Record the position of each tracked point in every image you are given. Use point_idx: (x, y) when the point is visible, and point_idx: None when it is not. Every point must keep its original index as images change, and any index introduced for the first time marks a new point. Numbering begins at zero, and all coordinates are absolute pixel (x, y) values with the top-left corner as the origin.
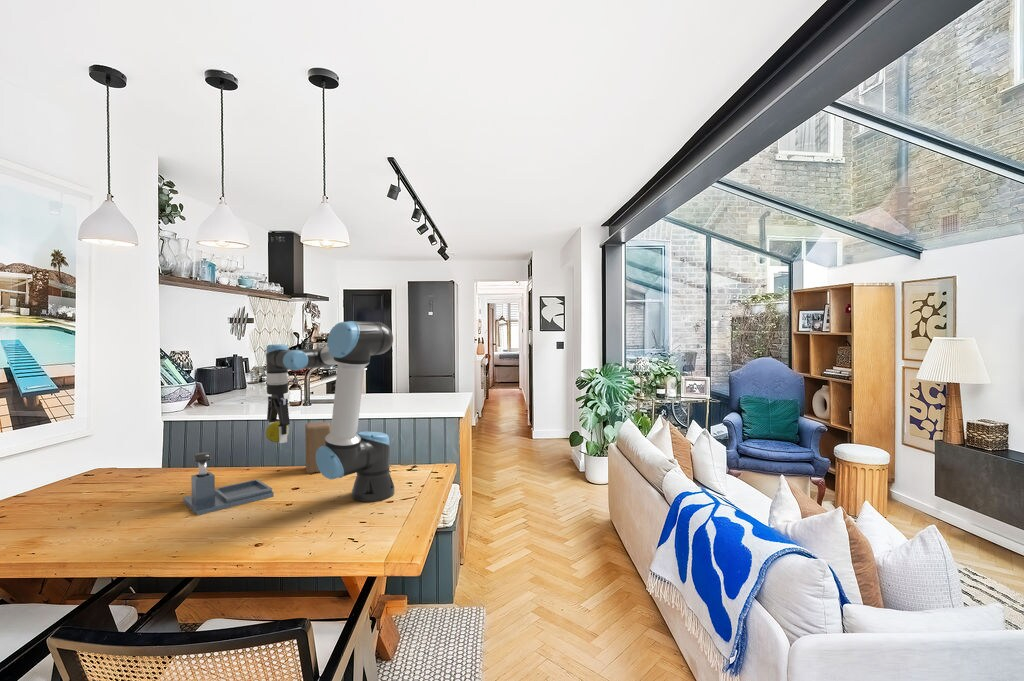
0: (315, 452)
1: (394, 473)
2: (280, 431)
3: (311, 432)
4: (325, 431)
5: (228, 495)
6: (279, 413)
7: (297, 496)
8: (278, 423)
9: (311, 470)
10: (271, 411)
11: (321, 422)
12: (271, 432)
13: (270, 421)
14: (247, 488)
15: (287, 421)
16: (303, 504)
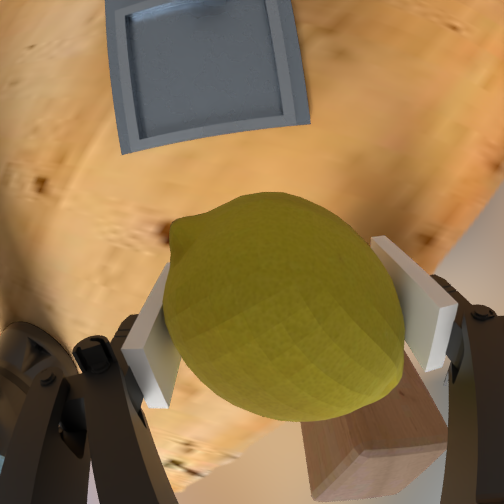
0: None
1: (164, 442)
2: (140, 320)
3: (342, 441)
4: (314, 473)
5: (189, 17)
6: (103, 501)
7: (89, 219)
8: (228, 377)
9: None
10: (488, 441)
11: (398, 484)
12: (175, 241)
13: (462, 321)
14: (232, 79)
15: (73, 433)
16: (26, 218)
